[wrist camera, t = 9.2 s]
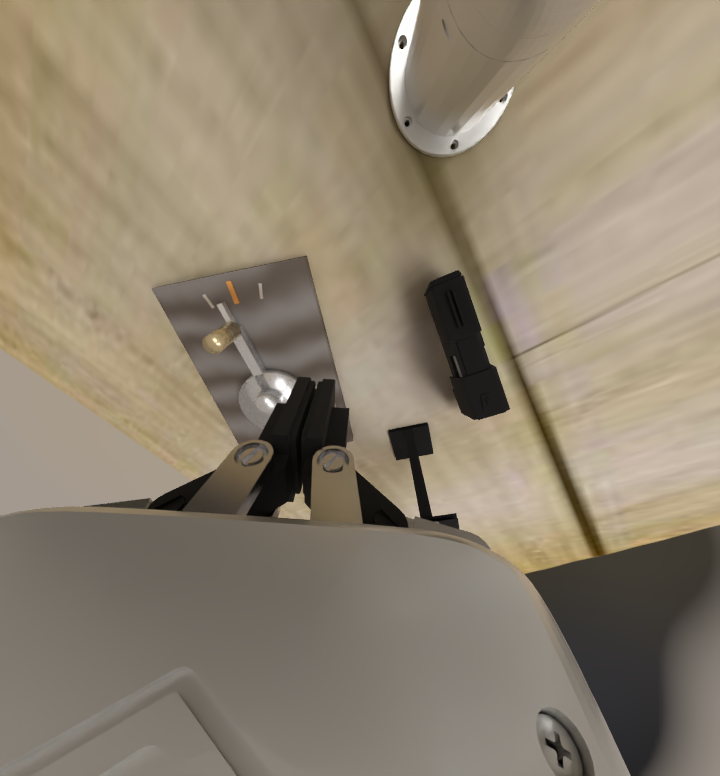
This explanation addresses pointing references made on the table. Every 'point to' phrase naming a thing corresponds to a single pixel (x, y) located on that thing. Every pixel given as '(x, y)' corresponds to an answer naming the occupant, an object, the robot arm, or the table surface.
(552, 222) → the table surface
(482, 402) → the toy
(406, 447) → the handbag
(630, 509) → the table surface
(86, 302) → the table surface
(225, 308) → the crank handle
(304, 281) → the level board
